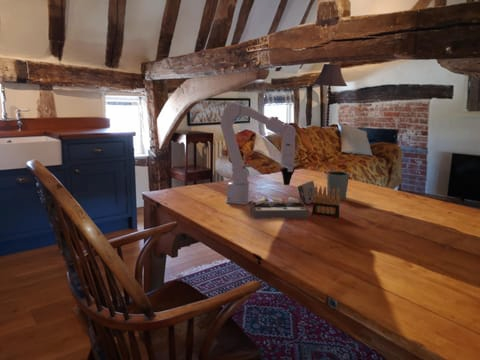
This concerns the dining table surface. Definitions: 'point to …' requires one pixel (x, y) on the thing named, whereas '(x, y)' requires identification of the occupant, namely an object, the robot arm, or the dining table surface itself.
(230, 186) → the robot arm
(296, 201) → the rocker right
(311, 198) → the electrical switch
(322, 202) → the ammunition clip
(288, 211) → the switch panel
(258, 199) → the rocker left
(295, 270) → the dining table surface
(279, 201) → the rocker middle
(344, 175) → the grey cup
